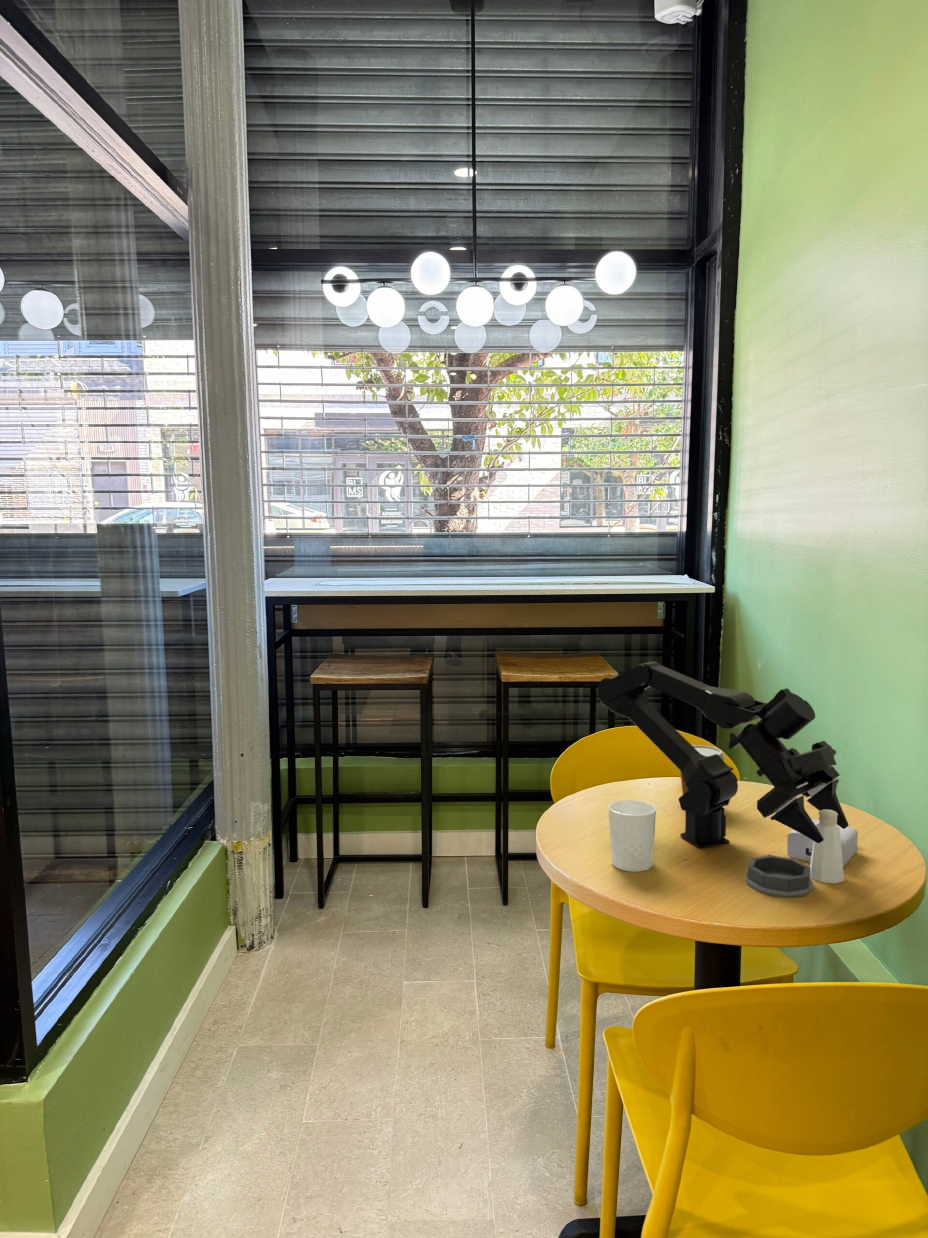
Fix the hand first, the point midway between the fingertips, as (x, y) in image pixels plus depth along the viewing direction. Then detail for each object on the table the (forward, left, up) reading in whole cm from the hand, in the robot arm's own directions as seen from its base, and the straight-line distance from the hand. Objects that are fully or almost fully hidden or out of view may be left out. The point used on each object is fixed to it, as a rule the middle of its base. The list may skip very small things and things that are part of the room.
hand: (834, 834), depth 129 cm
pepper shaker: (0, +1, -8) cm, 8 cm away
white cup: (-27, +17, -8) cm, 33 cm away
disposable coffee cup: (+1, +38, -8) cm, 38 cm away
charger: (+8, +10, -8) cm, 16 cm away
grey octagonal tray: (-9, +2, -7) cm, 12 cm away
